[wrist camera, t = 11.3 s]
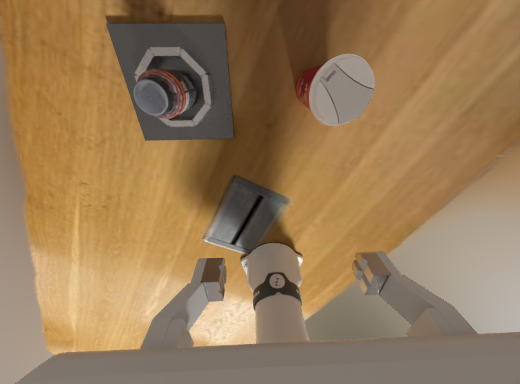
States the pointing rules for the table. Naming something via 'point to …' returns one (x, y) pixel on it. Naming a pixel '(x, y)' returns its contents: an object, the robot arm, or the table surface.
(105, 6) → the table surface
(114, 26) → the ring collar
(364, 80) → the paper cup
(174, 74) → the supplement bottle
